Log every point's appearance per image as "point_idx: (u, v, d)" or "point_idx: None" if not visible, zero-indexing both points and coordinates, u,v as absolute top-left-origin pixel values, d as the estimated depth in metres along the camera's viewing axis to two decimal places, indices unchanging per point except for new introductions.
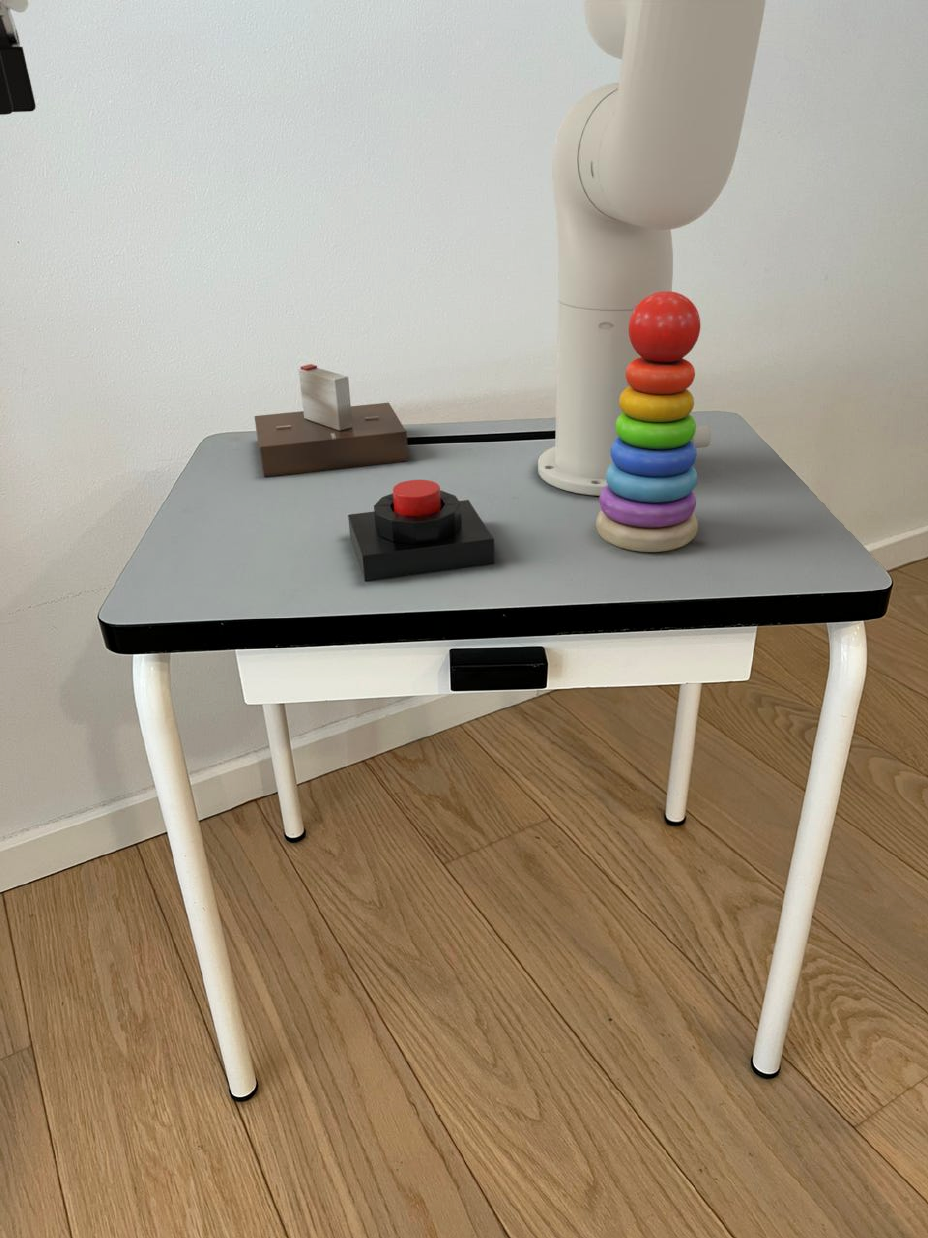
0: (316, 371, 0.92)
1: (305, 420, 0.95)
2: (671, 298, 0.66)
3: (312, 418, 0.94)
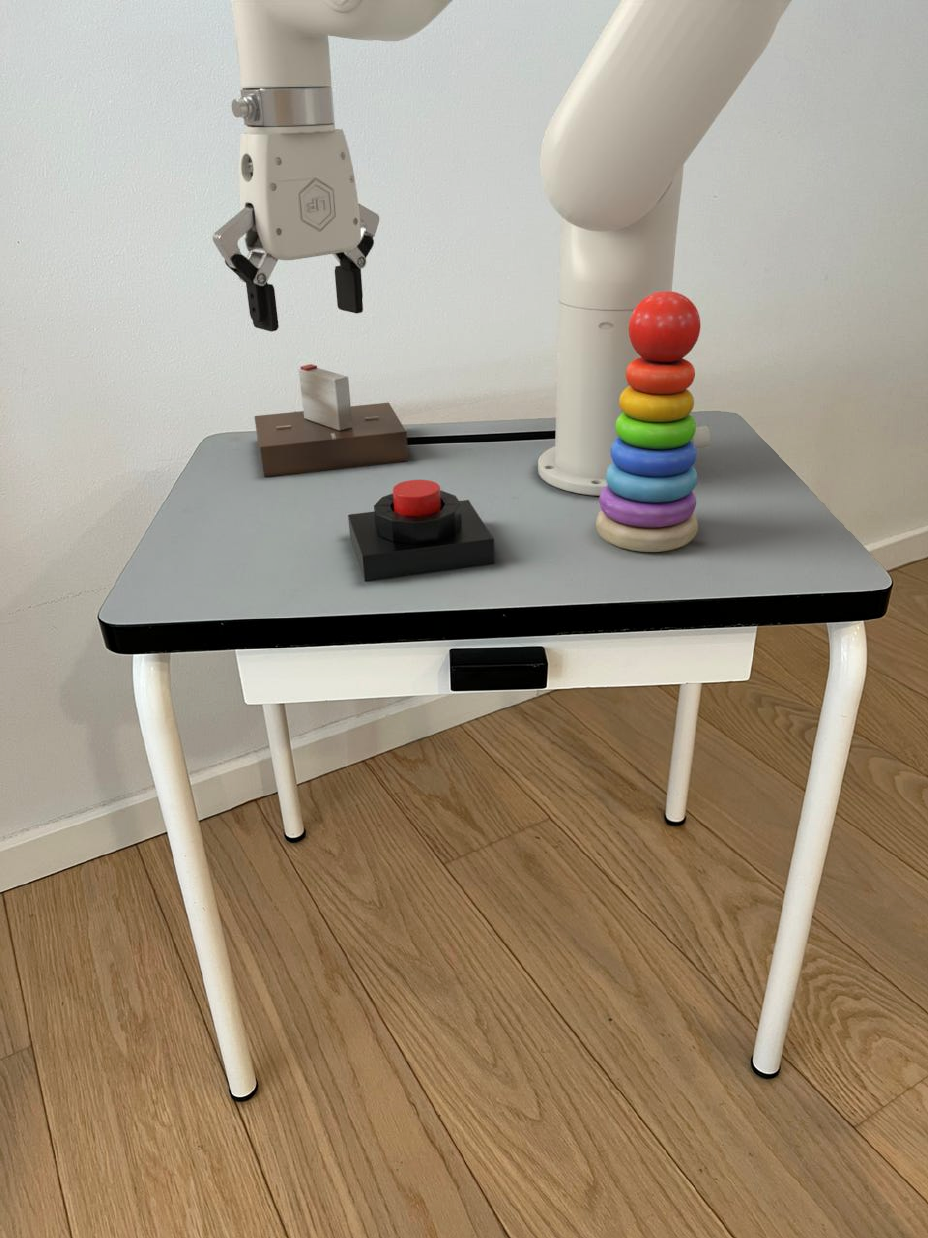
0: (316, 371, 0.92)
1: (305, 420, 0.95)
2: (671, 298, 0.66)
3: (312, 418, 0.94)
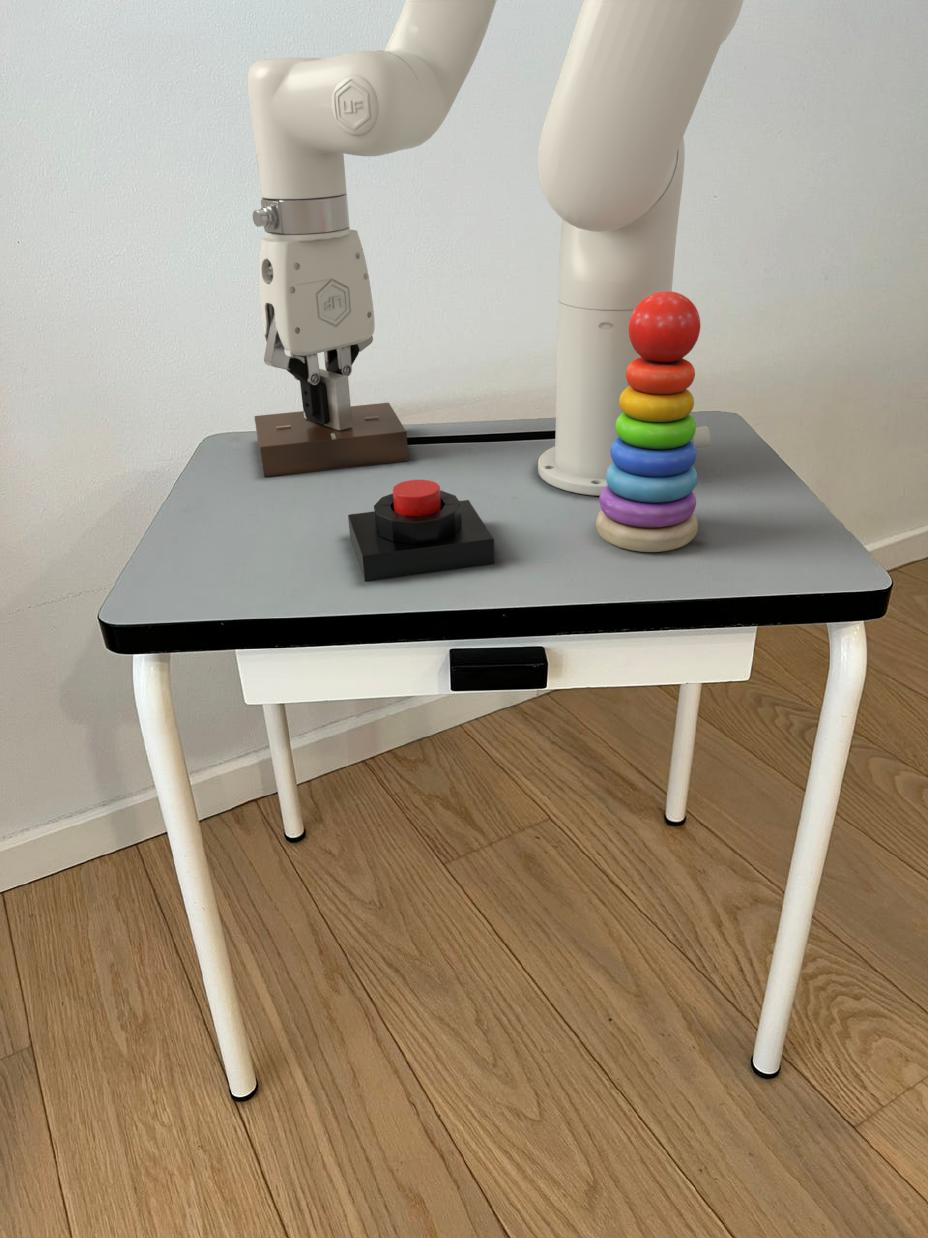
0: None
1: (305, 420, 0.95)
2: (671, 298, 0.66)
3: None
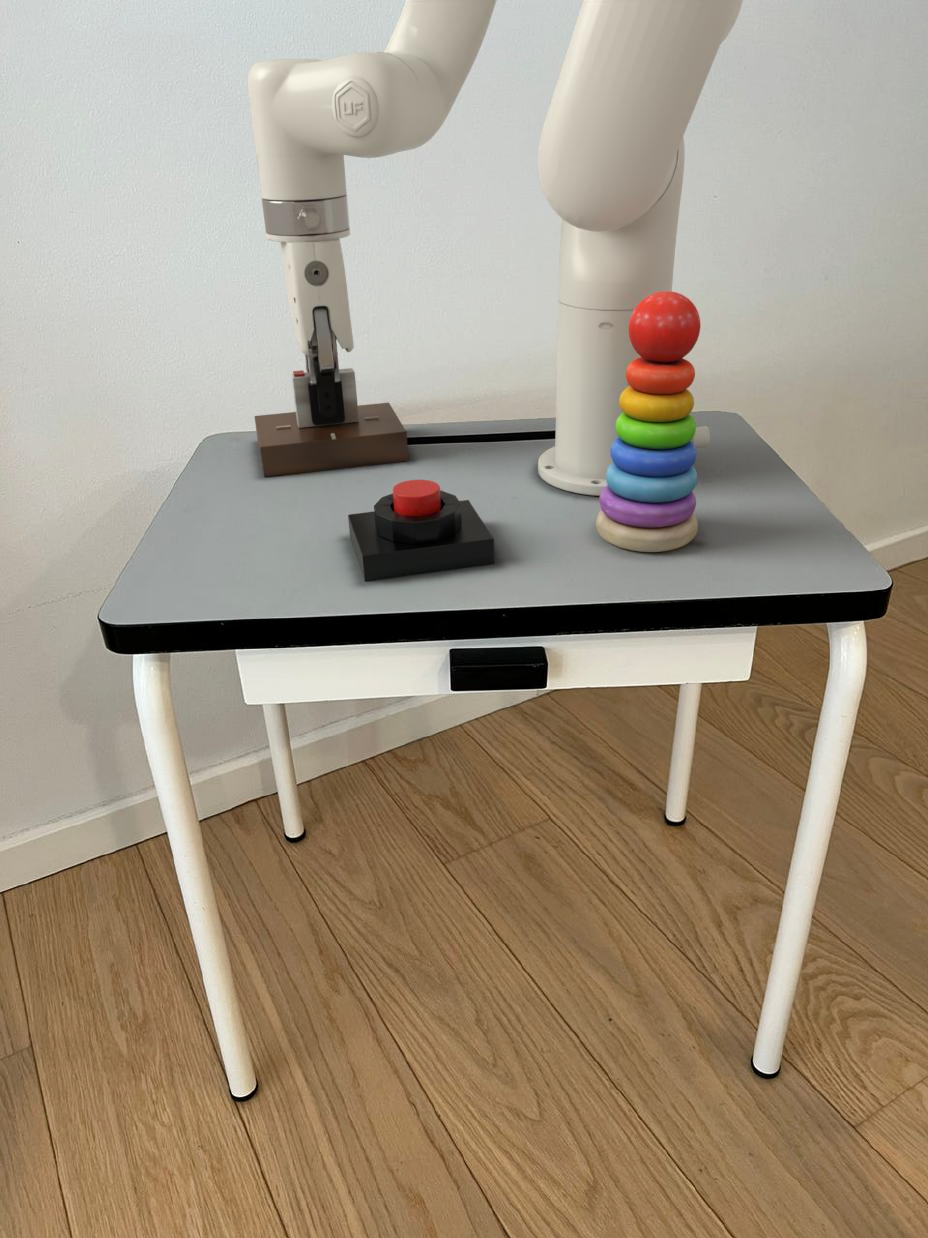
0: None
1: None
2: (671, 298, 0.66)
3: None
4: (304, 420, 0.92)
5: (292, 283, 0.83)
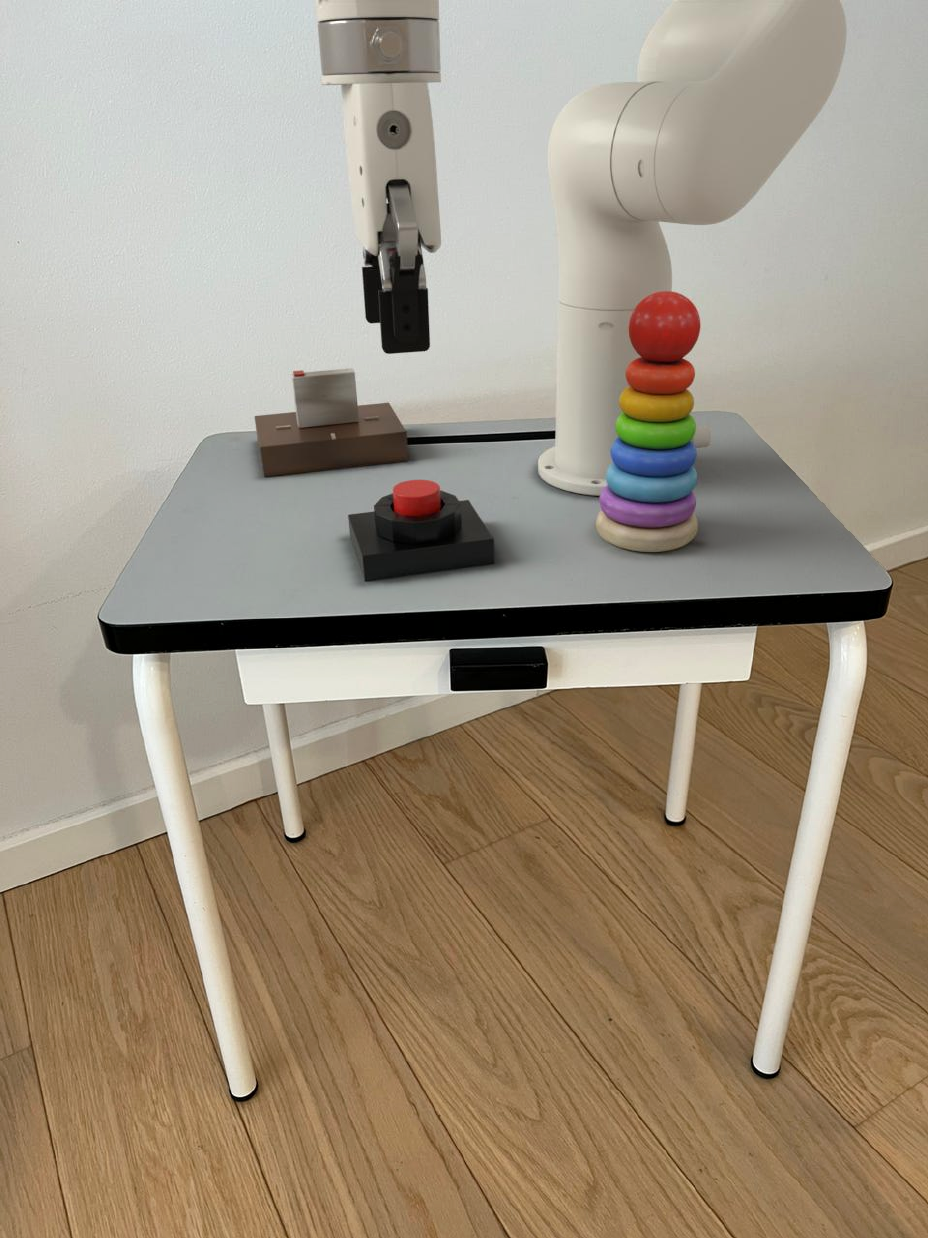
0: (314, 373, 0.91)
1: None
2: (671, 298, 0.66)
3: (313, 423, 0.93)
4: (304, 420, 0.92)
5: (358, 145, 0.58)
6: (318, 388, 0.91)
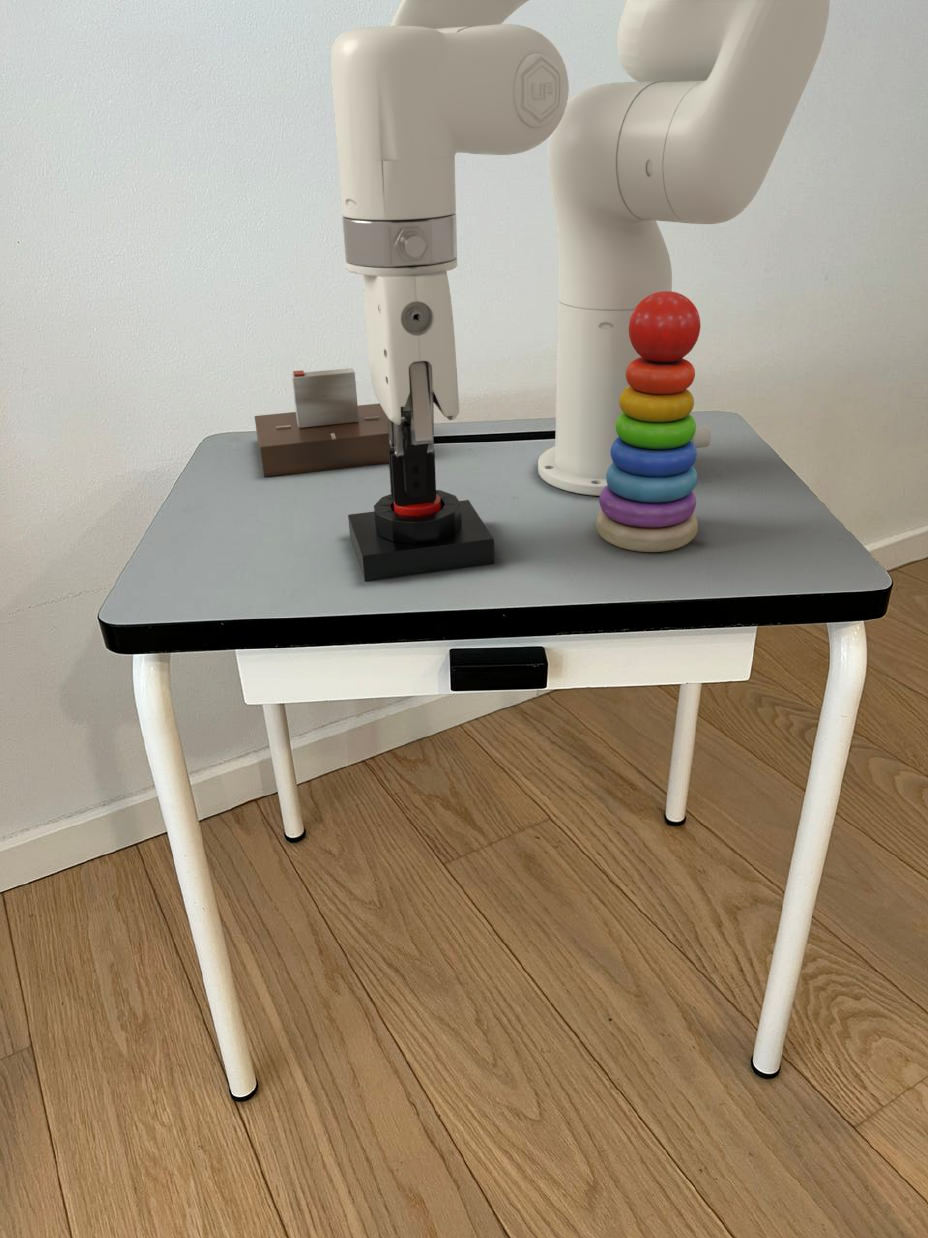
0: (314, 373, 0.91)
1: None
2: (671, 298, 0.66)
3: (313, 423, 0.93)
4: (304, 420, 0.92)
5: (383, 331, 0.62)
6: (318, 388, 0.91)
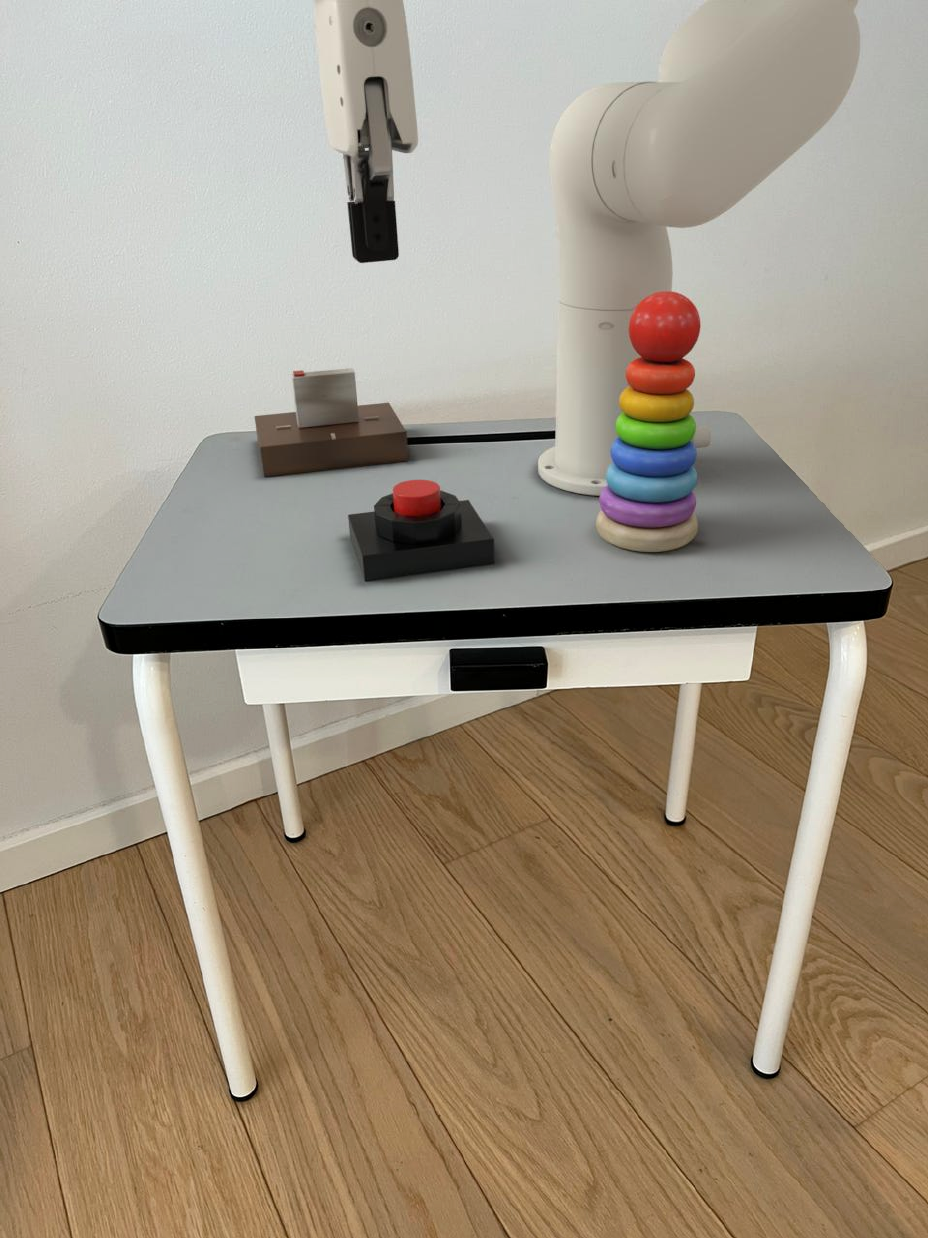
0: (314, 373, 0.91)
1: None
2: (671, 298, 0.66)
3: (313, 423, 0.93)
4: (304, 420, 0.92)
5: (335, 44, 0.60)
6: (318, 388, 0.91)
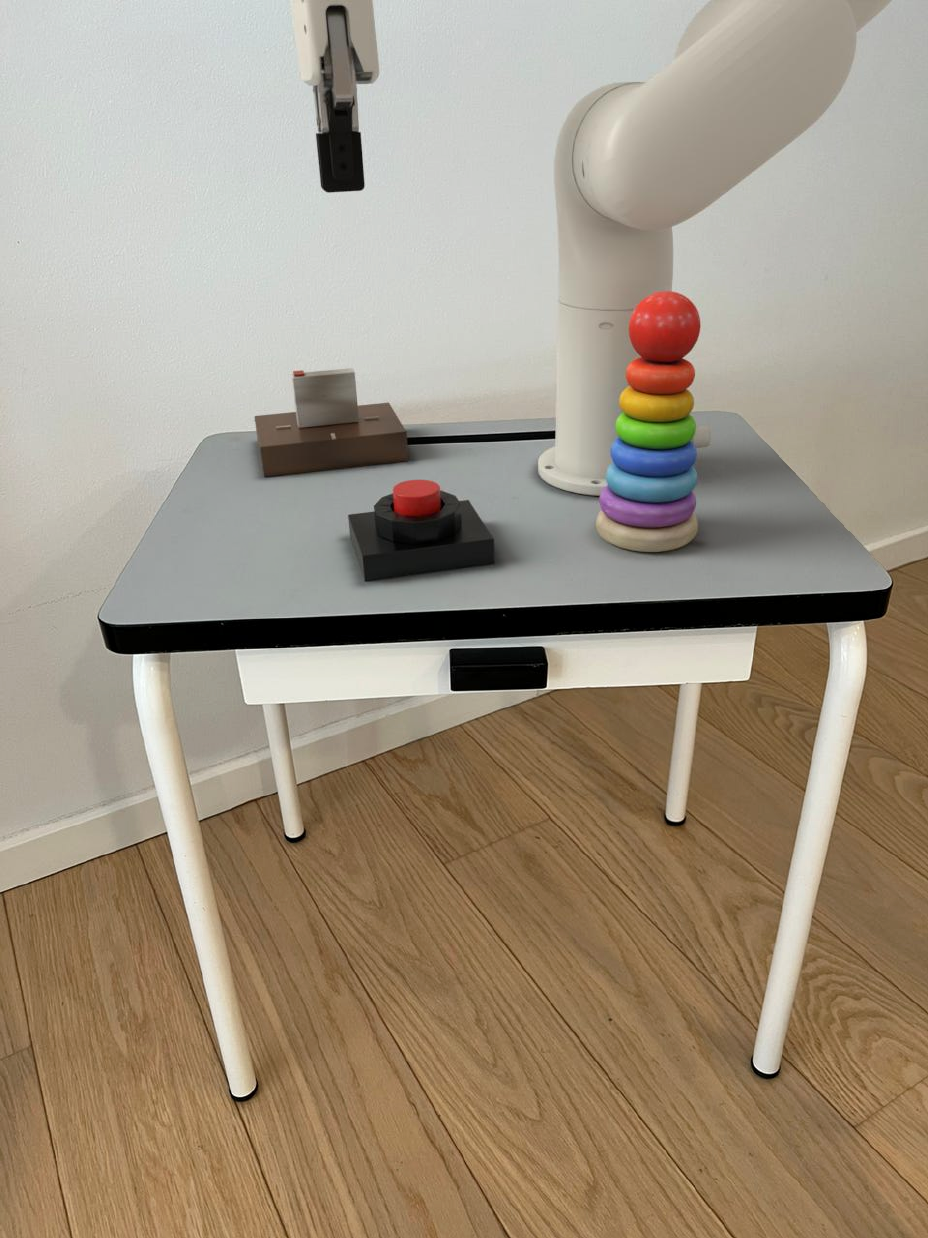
0: (314, 373, 0.91)
1: None
2: (671, 298, 0.66)
3: (313, 423, 0.93)
4: (304, 420, 0.92)
5: None
6: (318, 388, 0.91)
